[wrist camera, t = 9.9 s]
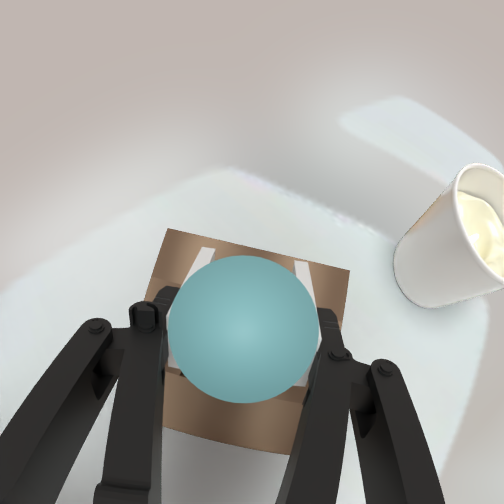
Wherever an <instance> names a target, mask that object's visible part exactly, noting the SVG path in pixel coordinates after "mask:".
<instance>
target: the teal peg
mask: <svg viewBox="0 0 504 504" xmlns="http://www.w3.org/2000/svg"><path fill="white" fill-rule="evenodd" d="M318 337H319V322H318V315H317V311H316V308H315V305H314V302H313V300H312V298H311V296H310V294H309V292H308V291H307V289H306V288H305V286H304V285H303V284H302V282H301V281H300V280H299V279H298V278H297V277H296V276H295V275H294V274H293V273H291V272H290V271H289V270H287V269H286V268H284V267H283V266H281V265H279V264H277V263H275V262H273V261H271V260H268V259H264V258H261V257H255V256H244V255H240V256H230V257H226V258H222V259H219V260H216V261H213V262H211V263H209V264H207V265H205V266H203V267H202V268H200V269H199V270H197V271H196V272H195V273H194V274H193V275H191V276H190V277H189V278H188V280H187V281H186V282H185V283H184V284H183V286H182V287H181V288H180V290H179V291H178V293H177V295H176V297H175V299H174V301H173V304H172V307H171V310H170V315H169V320H168V338H169V343H170V348H171V351H172V354H173V357H174V359H175V361H176V363H177V365H178V367H179V368H180V370H181V371H182V373H183V374H184V375H185V376H186V377H187V379H188V380H189V381H190V382H191V383H192V384H194V385H195V386H196V387H197V388H198V389H200V390H202V391H203V392H205V393H206V394H208V395H210V396H212V397H215V398H217V399H220V400H224V401H228V402H233V403H254V402H260V401H264V400H268V399H270V398H273V397H275V396H277V395H279V394H281V393H283V392H285V391H286V390H287V389H289V388H290V387H292V386H293V385H294V384H295V383H296V382H297V381H298V380H299V379H300V378H301V377H302V376H303V374H304V373H305V372H306V370H307V369H308V367H309V365H310V364H311V362H312V359H313V357H314V355H315V352H316V348H317V344H318Z"/></svg>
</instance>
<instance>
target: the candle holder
mask: <svg viewBox="0 0 504 504" xmlns="http://www.w3.org/2000/svg"><path fill="white" fill-rule="evenodd" d="M393 265H394V273H395V277H396V280H397V282H398V285H399V287H400V288H401V290H402V292H403V293H404V294H405V296H406V297H407V298H408V299H409V300H410V301H412V302H413V303H415V304H416V305H418V306H420V307H423V308H429V309H433V308H440V307H444V306H448V305H452V304H455V303H459V302H462V301H466V300H469V299H473V298H476V297H479V296H483V295H486V294H489V293H492V292H495V291H498V290H501V289H504V175H503V174H502V173H501V172H499V171H498V170H496V169H495V168H493V167H491V166H488V165H486V164H482V163H471V164H468V165H466V166H464V167H463V168H462V169H461V170H460V171H459V172H458V173H457V175H456V177H455V178H454V180H453V181H452V182H451V183H450V184H449V186H448V187H447V188H446V189H445V190H444V191H443V193H442V194H441V195H440V196H439V197H438V198H437V200H436V201H435V202H434V203H433V204H432V205H431V206H430V207H429V209H428V210H427V211H426V212H425V213H424V214H423V215H422V216H421V218H420V219H419V220H418V221H417V222H416V223H415V224H414V225H413V226H412V228H410V230H409V231H408V232H407V233H406V234H405V235H404V236H403V237H402V239H401V240H400V242H399V243H398V245H397V247H396V250H395V253H394V260H393Z"/></svg>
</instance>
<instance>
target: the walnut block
mask: <svg viewBox="0 0 504 504" xmlns="http://www.w3.org/2000/svg"><path fill="white" fill-rule="evenodd" d="M202 247H207V248H214V249H216V250H215V261H216V260H219V259H222V258H226V257H230V256H240V255H244V256H255V257H261V258H264V259H268V260H271V261H273V262H275V263H277V264H279V265H281V266H283V267H284V268H286V269H287V270H289V271H290V272H291V273H292V270H293V265H294V260H296V261H303V262H308V265H309V270H310V276H311V281H312V286H313V292H314V297H315V303H316V307H319V308H328V309H331V310H332V311H333V312H334V313H335V314H336V316H337V320H338V324H339V327H340V331H341V326H342V320H343V314H344V308H345V302H346V295H347V288H348V281H349V273H350V271H349V270H345V269H341V268H337V267H332V266H328V265H324V264H320V263H315V262H311V261H307V260H303V259H298V258H294V257H290V256H286V255H281V254H277V253H273V252H268V251H264V250H260V249H256V248H251V247H247V246H243V245H238V244H234V243H230V242H225V241H221V240H217V239H212V238H208V237H204V236H199V235H195V234H191V233H186V232H182V231H178V230H173V229H169V228H168V229H167V231H166V234H165V237H164V240H163V243H162V246H161V249H160V252H159V255H158V258H157V261H156V264H155V267H154V270H153V273H152V276H151V279H150V282H149V285H148V289H147V292H146V295H145V298H144V301H150V302H152V301H153V300H154V298H155V296H156V295H157V293H158V291H159V290H160V289H162V288H163V287H165V286H172V287H178V288H181V286H182V284H183V282H184V280H185V278H186V276H187V274H188V273H189V271H190V269H191V267H192V265H193V263H194V261H195V259H196V257H197V255H198V254H199V252H200V250H201V248H202ZM308 387H309V383H308V380H307V383H306V386H305V387H303V386H292V387H290V388H289V389H287V390H286V391H285V392H283V393H281V394H279V395H277V396H275V397H273V398H270V399H268V400H264V401H260V402H254V403H233V402H228V401H224V400H220V399H217V398H215V397H212V396H210V395H208V394H206V393H205V392H203V391H202V390H200V389H198V388H197V387H196V386H195V385H194V384H192V383H191V382H190V381H189V380H188V379H187V377H186V376H185V375H184V374H183V373H182V371H181V370H180V369H178V368H173V367H169V366H168V359H167V362H166V364H165V386H164V403H163V424H162V426H164V427H167V428H170V429H173V430H177V431H180V432H183V433H187V434H190V435H194V436H198V437H201V438H205V439H209V440H213V441H217V442H221V443H226V444H230V445H235V446H239V447H244V448H249V449H255V450H260V451H266V452H272V453H278V454H285V455H290V454H291V450H292V446H293V443H294V439H295V435H296V431H297V428H298V424H299V420H300V416H301V412H302V408H303V405H302V402H303V400H304V397H305V395H306V392H307V390H308Z"/></svg>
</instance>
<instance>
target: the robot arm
mask: <svg viewBox="0 0 504 504" xmlns="http://www.w3.org/2000/svg"><path fill="white" fill-rule="evenodd" d="M215 250H216V249H214V248H207V247H202V248H201V250H200V252H199V254H198V255H197V257H196V259H195V261H194V263H193V265H192V267H191V269H190V271H189V273H188V274H187V276H186V278H185V280H184V282H183V284H184V283H185V282H186V281H187V280H188V278H189V277H190V276H191V275H193V274H194V273H195V272H196V271H197V270H199V269H200V268H202V267H203V266H205V265H207V264H209V263H211V262H213V261H215ZM292 273H293V274H294V275H295V276H296V277H297V278H298V279H299V280H300V281H301V282H302V284H303V285H304V286H305V288H306V289H307V291H308V292H309V294H310V296H311V298H312V300H313V302H314V305H315V308H316V311H317V315H318V322H319V337H318V344H317V348H316V352H315V355H314V357H313V359H312V362H311V364H310V365H309V367H308V369H307V370H306V372H305V373H304V374H303V376H302V377H301V378H300V379H299V380H298V381H297V382H296V383H295V384H294V385H293V386H303V387H305V386H306V383H307V380H308V383H309V387H308V390H307V392H306V395H305V397H304V400H303V402H302V405H303V408H302V412H301V416H300V420H299V424H298V428H297V431H296V435H295V439H294V443H293V446H292V450H291V454H290V457H289V461H288V464H287V468H286V471H285V474H284V478H283V481H282V484H281V487H280V491H279V494H278V497H277V500H276V503H275V504H336V499H337V493H338V488H339V482H340V476H341V469H342V463H343V456H344V448H345V441H346V432H347V424H348V414H349V409H350V414H351V419H352V424H353V430H354V435H355V440H356V445H357V451H358V457H359V462H360V468H361V474H362V480H363V486H364V493H365V499H366V504H445V501H444V497H443V493H442V490H441V486H440V483H439V479H438V476H437V473H436V470H435V466H434V463H433V460H432V457H431V454H430V451H429V448H428V445H427V442H426V439H425V436H424V433H423V430H422V427H421V424H420V422H419V419H418V416H417V413H416V411H415V408H414V405H413V403H412V400H411V397H410V395H409V392H408V389H407V387H406V384H405V382H404V379H403V377H402V374H401V372H400V370H399V368H398V367H397V365H395V364H394V363H393V362H391V361H389V360H386V359H377V360H375V361H373V362H372V364H371V366H370V365H367V364H364V363H360V362H358V361H355V360H354V359H353V357H352V354H351V353H350V351H349V350H347V349H346V348H344V344H343V340H342V335H341V331H340V327H339V324H338V320H337V316H336V314H335V313H334V312H333V311H332V310H331V309H328V308H319V307H316V303H315V297H314V292H313V286H312V281H311V276H310V270H309V265H308V262H303V261H296V260H294V265H293V270H292ZM183 284H182V286H183ZM182 286H181V287H182ZM179 290H180V288H178V287H172V286H165V287H163V288H162V289H160V290H159V291H158V293H157V295H156V296H155V298H154V300H153V301H152V302H150V301H141V302H137V303H135V304H133V305H132V306H131V307H130V308H129V318H130V327H129V328H112V327H111V323H110V322H109V321H108V320H105V319H103V318H93V319H90V320H87V321H86V322H85V323H83V324H82V326H81V327H80V328H79V329H78V330H77V332H76V333H75V334H74V335H73V337H72V338H71V339H70V340H69V342H68V343H67V344H66V345H65V347H64V348H63V349H62V351H61V352H60V353H59V354H58V356H57V357H56V358H55V360H54V361H53V362H52V364H51V365H50V366H49V367H48V369H47V370H46V371H45V373H44V374H43V375H42V377H41V378H40V380H39V381H38V382H37V384H36V385H35V386H34V388H33V389H32V390H31V392H30V393H29V395H28V396H27V397H26V399H25V400H24V402H23V403H22V405H21V406H20V407H19V409H18V410H17V412H16V413H15V415H14V416H13V418H12V419H11V421H10V422H9V424H8V425H7V427H6V428H5V430H4V431H3V433H2V434H1V436H0V504H55V502H56V500H57V498H58V495H59V493H60V491H61V489H62V487H63V485H64V483H65V481H66V478H67V476H68V474H69V472H70V470H71V468H72V466H73V464H74V462H75V460H76V458H77V456H78V454H79V452H80V450H81V448H82V446H83V444H84V442H85V440H86V438H87V436H88V434H89V432H90V430H91V428H92V426H93V424H94V422H95V420H96V418H97V416H98V415H99V413H100V411H101V409H102V407H103V405H104V403H105V401H106V400H107V398H108V396H109V394H110V392H111V390H112V388H113V387H114V385H115V383H116V381H117V379H118V383H117V388H116V393H115V398H114V403H113V409H112V414H111V420H110V426H109V432H108V439H107V445H106V452H105V459H104V467H103V475H102V480H101V483H99V484H97V486H96V488H95V492H94V499H93V504H161V459H162V424H163V403H164V386H165V364H166V362H167V359H168V366H169V367H173V368H178V369H180V368H179V367H178V365H177V363H176V361H175V359H174V357H173V354H172V351H171V348H170V343H169V338H168V320H169V315H170V310H171V307H172V304H173V301H174V299H175V297H176V295H177V293H178V291H179ZM118 377H119V378H118Z"/></svg>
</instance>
